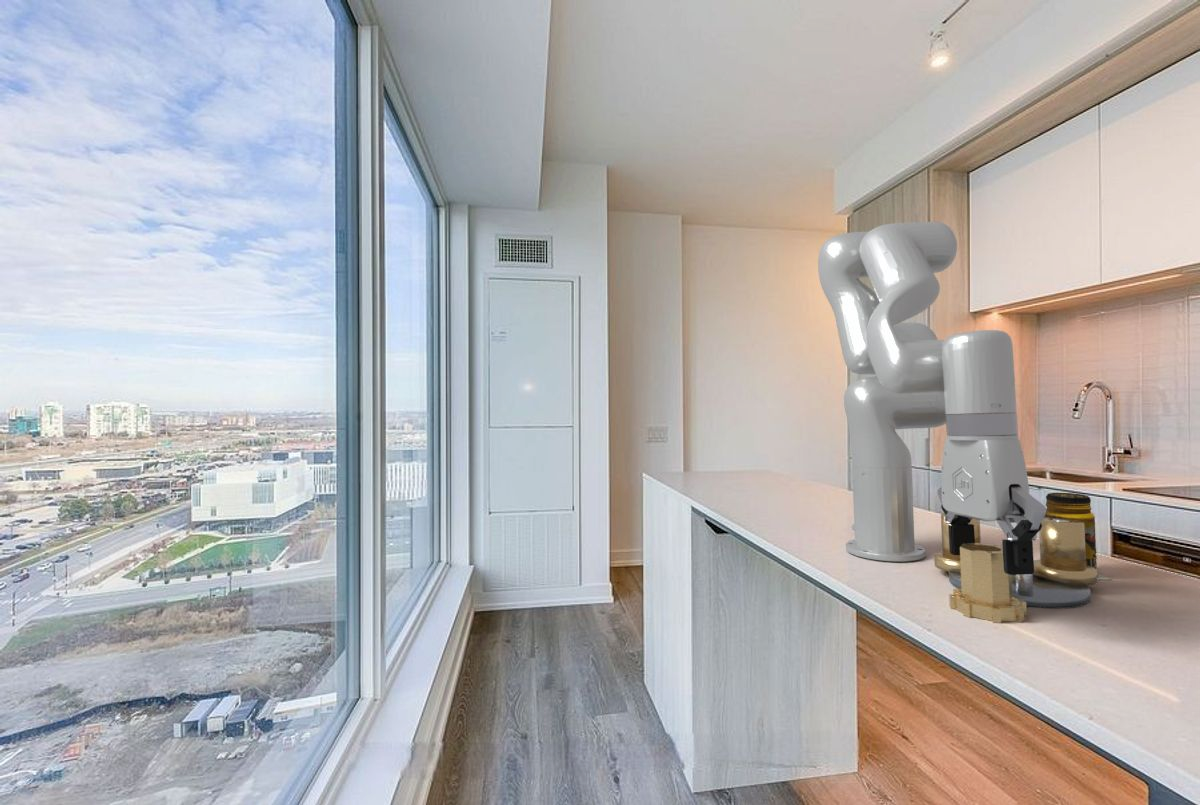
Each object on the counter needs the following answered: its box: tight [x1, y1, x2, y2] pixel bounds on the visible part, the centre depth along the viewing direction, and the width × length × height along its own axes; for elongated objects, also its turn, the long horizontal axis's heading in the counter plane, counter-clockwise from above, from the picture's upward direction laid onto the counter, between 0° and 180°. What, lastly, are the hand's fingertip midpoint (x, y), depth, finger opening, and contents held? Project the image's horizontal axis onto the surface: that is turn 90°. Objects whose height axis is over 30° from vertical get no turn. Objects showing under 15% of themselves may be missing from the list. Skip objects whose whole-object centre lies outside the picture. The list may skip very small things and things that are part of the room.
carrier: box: [933, 512, 1098, 609], centre depth 79 cm, size 18×19×9 cm
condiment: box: [1044, 492, 1112, 581], centre depth 85 cm, size 7×8×12 cm
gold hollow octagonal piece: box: [948, 542, 1028, 624], centre depth 70 cm, size 8×8×8 cm
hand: (989, 563), depth 69 cm, fingers open, 9 cm apart
